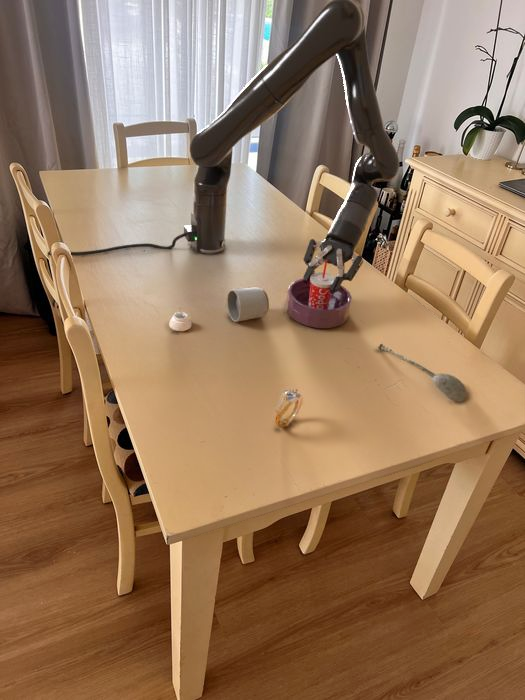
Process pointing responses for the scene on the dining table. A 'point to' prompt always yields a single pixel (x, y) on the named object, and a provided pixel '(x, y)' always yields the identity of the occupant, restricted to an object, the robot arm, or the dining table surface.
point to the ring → (289, 396)
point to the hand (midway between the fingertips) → (318, 287)
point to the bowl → (314, 316)
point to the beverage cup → (320, 289)
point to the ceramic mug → (247, 303)
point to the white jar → (180, 322)
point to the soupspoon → (439, 380)
